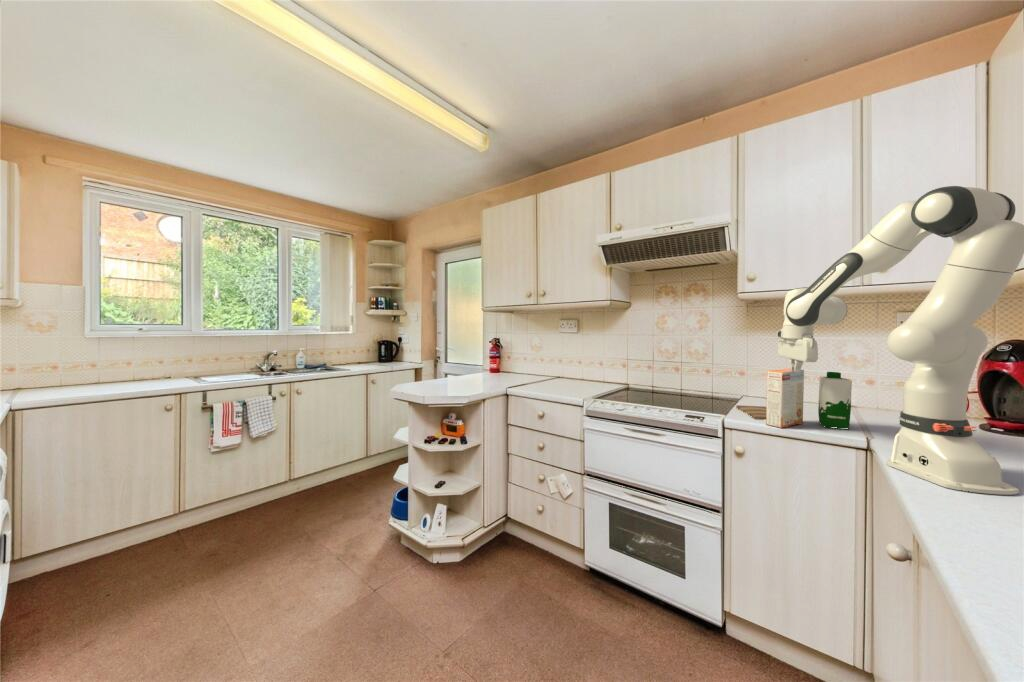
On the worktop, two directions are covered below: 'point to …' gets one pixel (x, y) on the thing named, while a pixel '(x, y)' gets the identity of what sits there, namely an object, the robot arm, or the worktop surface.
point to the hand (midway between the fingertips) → (795, 371)
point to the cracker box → (784, 398)
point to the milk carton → (834, 400)
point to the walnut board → (754, 411)
